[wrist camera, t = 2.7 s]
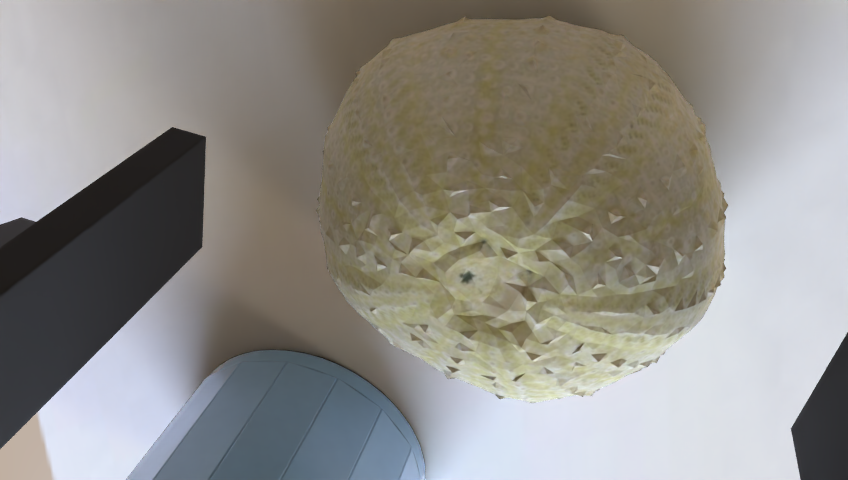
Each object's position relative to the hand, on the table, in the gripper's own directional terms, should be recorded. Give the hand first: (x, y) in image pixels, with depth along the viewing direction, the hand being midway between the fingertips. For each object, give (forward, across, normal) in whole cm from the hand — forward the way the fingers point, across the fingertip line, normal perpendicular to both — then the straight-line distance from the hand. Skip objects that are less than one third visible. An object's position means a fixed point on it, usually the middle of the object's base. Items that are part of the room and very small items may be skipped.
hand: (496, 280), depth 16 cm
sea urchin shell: (+5, 0, 0) cm, 5 cm away
